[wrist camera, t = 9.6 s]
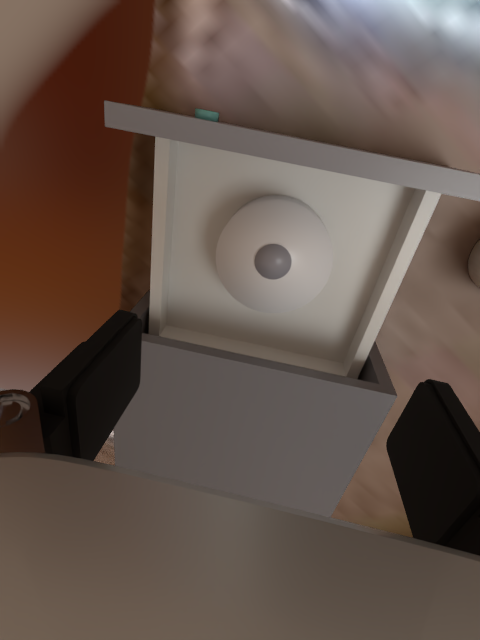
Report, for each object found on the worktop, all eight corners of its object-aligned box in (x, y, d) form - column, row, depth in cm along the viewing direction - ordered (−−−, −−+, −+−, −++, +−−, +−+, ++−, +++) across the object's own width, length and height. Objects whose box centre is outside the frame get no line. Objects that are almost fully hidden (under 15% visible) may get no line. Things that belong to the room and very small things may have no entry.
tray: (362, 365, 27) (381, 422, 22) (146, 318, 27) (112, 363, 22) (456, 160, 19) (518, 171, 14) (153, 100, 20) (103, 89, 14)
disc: (344, 207, 20) (350, 214, 18) (312, 309, 23) (314, 324, 22) (230, 184, 20) (223, 189, 18) (215, 288, 24) (208, 301, 22)
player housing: (318, 461, 33) (324, 527, 28) (144, 422, 34) (115, 479, 28) (373, 338, 26) (397, 395, 20) (148, 290, 26) (110, 333, 21)
